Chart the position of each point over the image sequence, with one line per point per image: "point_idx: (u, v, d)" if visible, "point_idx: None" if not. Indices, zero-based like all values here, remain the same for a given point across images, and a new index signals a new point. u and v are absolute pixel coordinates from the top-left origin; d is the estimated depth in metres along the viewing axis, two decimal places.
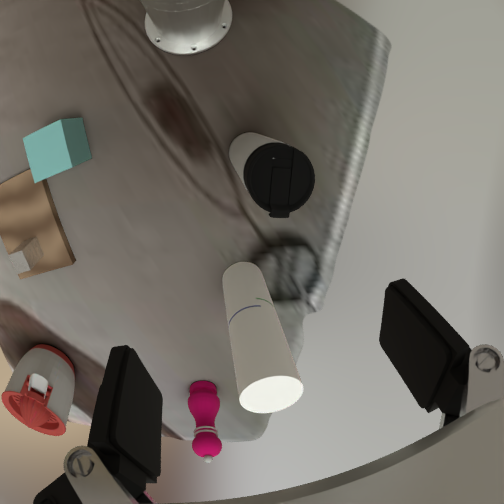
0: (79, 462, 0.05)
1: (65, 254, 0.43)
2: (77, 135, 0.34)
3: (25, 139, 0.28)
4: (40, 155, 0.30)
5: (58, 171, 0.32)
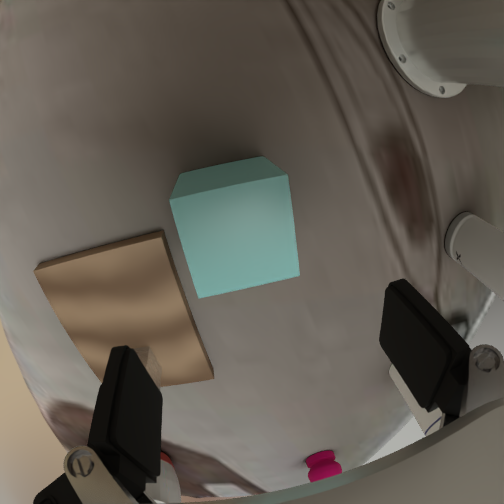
0: (79, 462, 0.05)
1: (203, 368, 0.31)
2: None
3: (177, 204, 0.16)
4: (220, 244, 0.18)
5: (265, 281, 0.19)
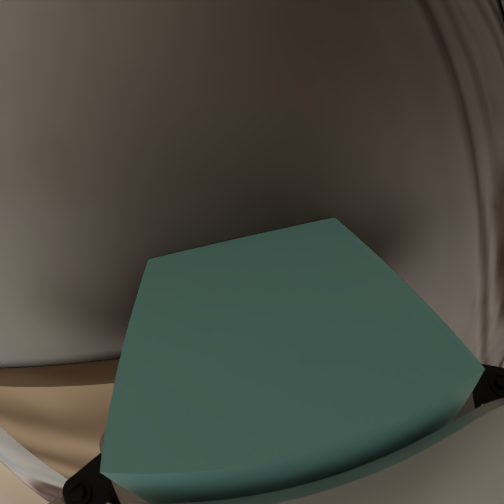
0: None
1: None
2: None
3: (130, 481, 0.03)
4: None
5: None
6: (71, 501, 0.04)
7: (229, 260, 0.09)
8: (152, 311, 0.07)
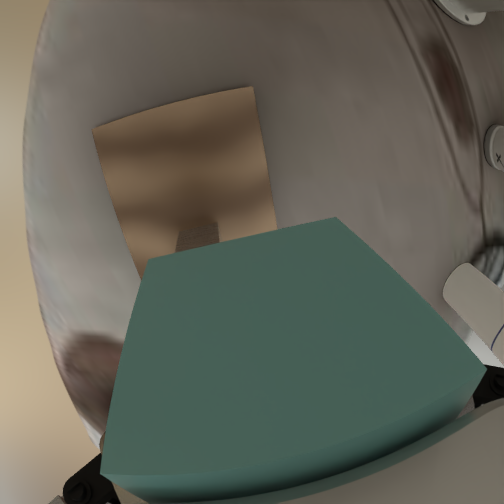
0: None
1: None
2: None
3: (130, 482, 0.03)
4: None
5: None
6: (71, 501, 0.04)
7: (230, 260, 0.09)
8: (152, 311, 0.07)
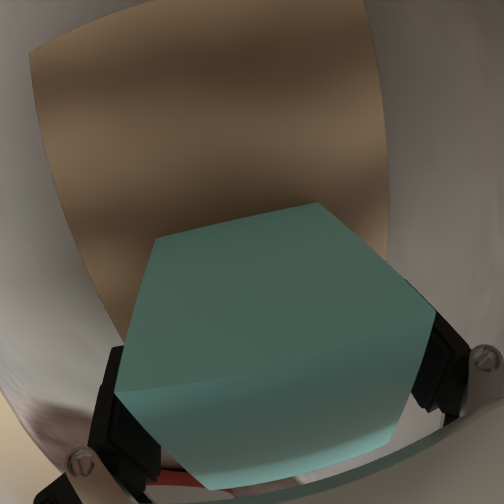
0: (79, 462, 0.05)
1: None
2: None
3: (138, 401, 0.05)
4: (254, 449, 0.07)
5: (330, 463, 0.08)
6: None
7: (225, 236, 0.11)
8: (161, 275, 0.09)
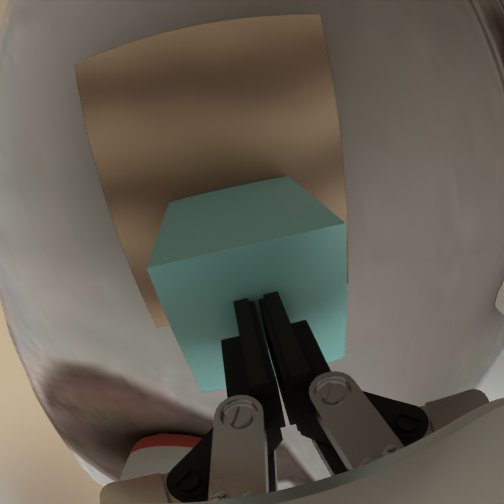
0: (237, 410, 0.07)
1: None
2: None
3: (161, 274, 0.09)
4: (234, 330, 0.11)
5: None
6: (180, 493, 0.05)
7: (219, 197, 0.15)
8: (175, 218, 0.13)
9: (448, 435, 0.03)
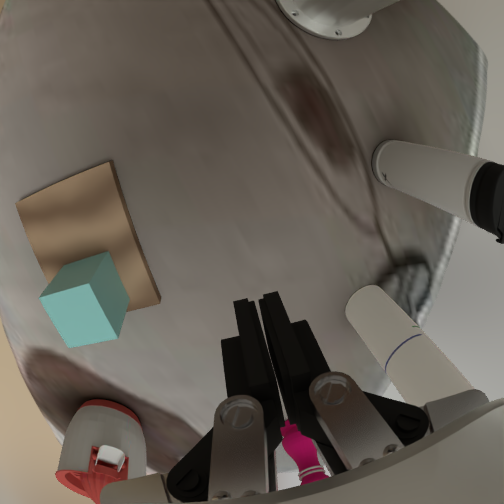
0: (236, 410, 0.07)
1: (149, 290, 0.34)
2: (111, 285, 0.30)
3: (42, 299, 0.24)
4: (68, 320, 0.26)
5: (99, 340, 0.27)
6: (181, 493, 0.05)
7: (77, 264, 0.30)
8: (57, 276, 0.28)
9: (448, 435, 0.03)
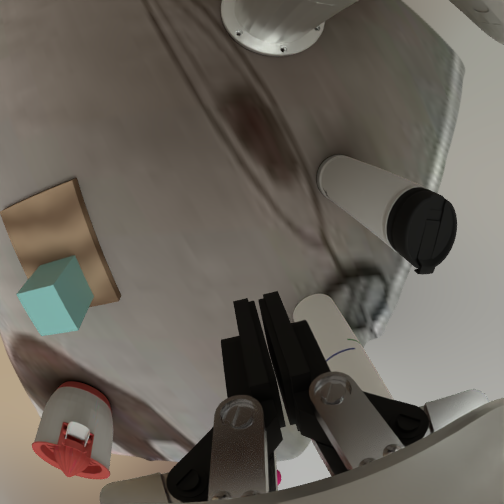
0: (237, 410, 0.07)
1: (109, 289, 0.38)
2: (75, 284, 0.33)
3: (19, 296, 0.28)
4: (40, 313, 0.29)
5: (64, 331, 0.31)
6: (181, 493, 0.05)
7: (49, 266, 0.33)
8: (33, 275, 0.31)
9: (448, 435, 0.03)
